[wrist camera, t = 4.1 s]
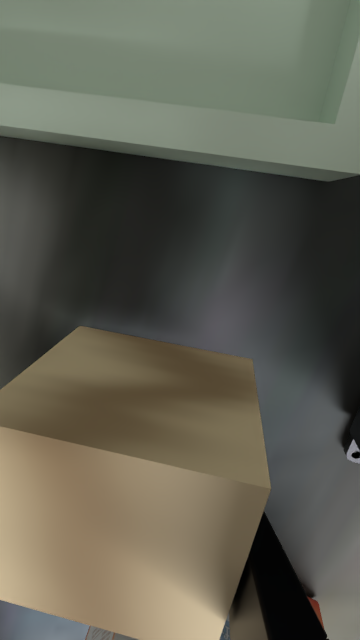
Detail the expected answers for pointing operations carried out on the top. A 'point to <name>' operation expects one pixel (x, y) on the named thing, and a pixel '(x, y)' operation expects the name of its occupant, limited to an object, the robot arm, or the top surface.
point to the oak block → (130, 484)
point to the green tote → (188, 80)
